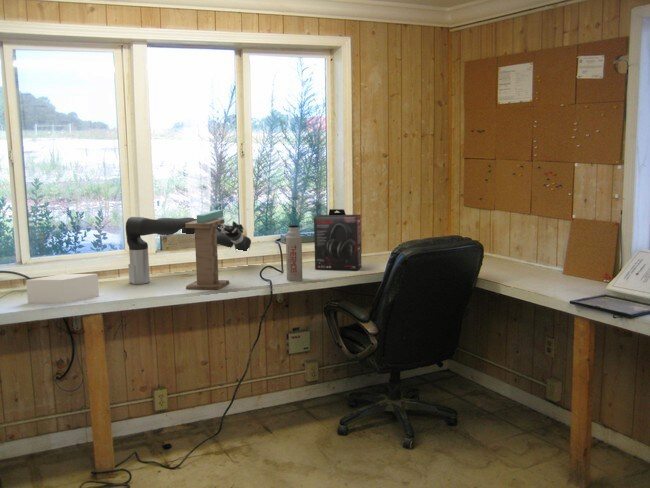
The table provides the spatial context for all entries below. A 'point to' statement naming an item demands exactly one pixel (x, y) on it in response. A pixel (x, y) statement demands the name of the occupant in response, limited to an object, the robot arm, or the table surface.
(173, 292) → the table surface
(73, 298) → the block
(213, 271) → the walnut stand
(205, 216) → the teal bar
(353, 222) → the headset box
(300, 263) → the thermos bottle
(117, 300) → the table surface
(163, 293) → the table surface
